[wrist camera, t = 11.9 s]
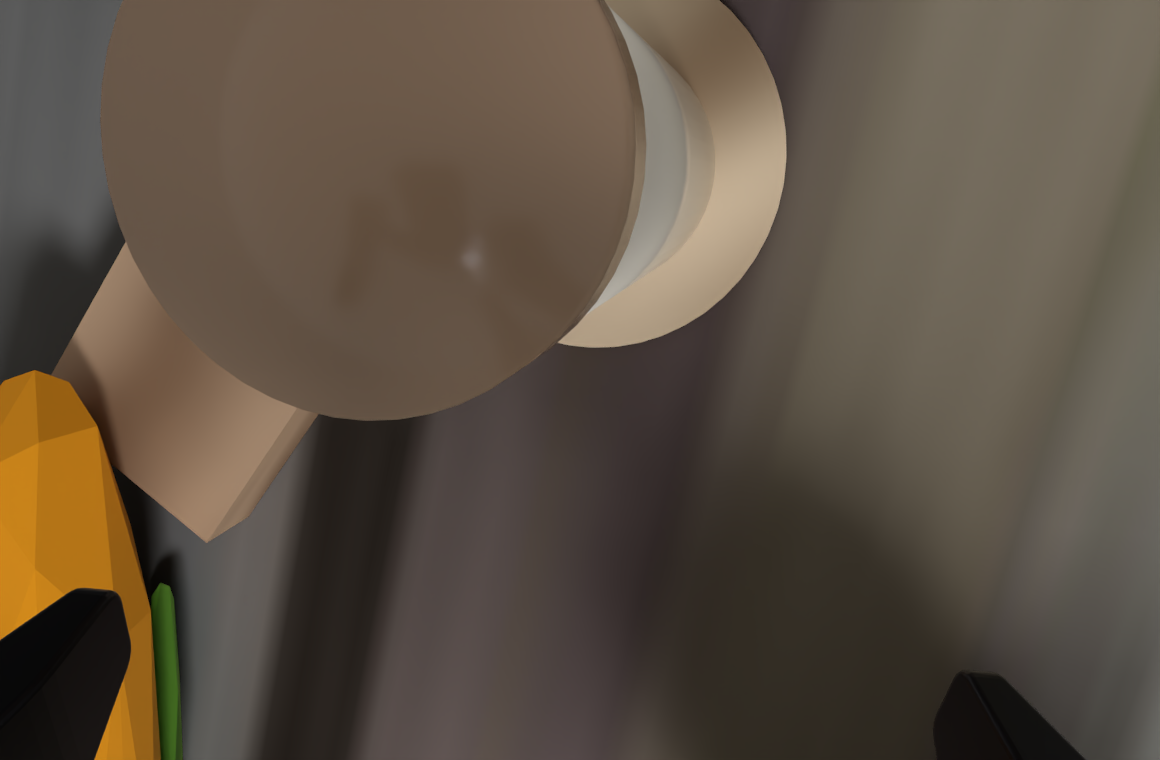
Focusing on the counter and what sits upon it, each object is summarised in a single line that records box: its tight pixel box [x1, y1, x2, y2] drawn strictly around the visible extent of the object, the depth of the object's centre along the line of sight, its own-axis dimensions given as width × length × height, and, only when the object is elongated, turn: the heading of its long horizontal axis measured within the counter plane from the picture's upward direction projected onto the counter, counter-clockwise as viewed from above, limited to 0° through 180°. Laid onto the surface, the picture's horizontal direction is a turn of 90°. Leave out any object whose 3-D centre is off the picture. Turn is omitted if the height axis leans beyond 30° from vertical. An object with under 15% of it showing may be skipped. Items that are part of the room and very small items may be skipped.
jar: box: [100, 0, 715, 421], centre depth 16 cm, size 6×6×13 cm
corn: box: [0, 370, 183, 760], centre depth 25 cm, size 7×8×20 cm
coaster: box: [558, 0, 786, 348], centre depth 22 cm, size 9×9×1 cm
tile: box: [51, 242, 318, 543], centre depth 25 cm, size 6×6×2 cm
